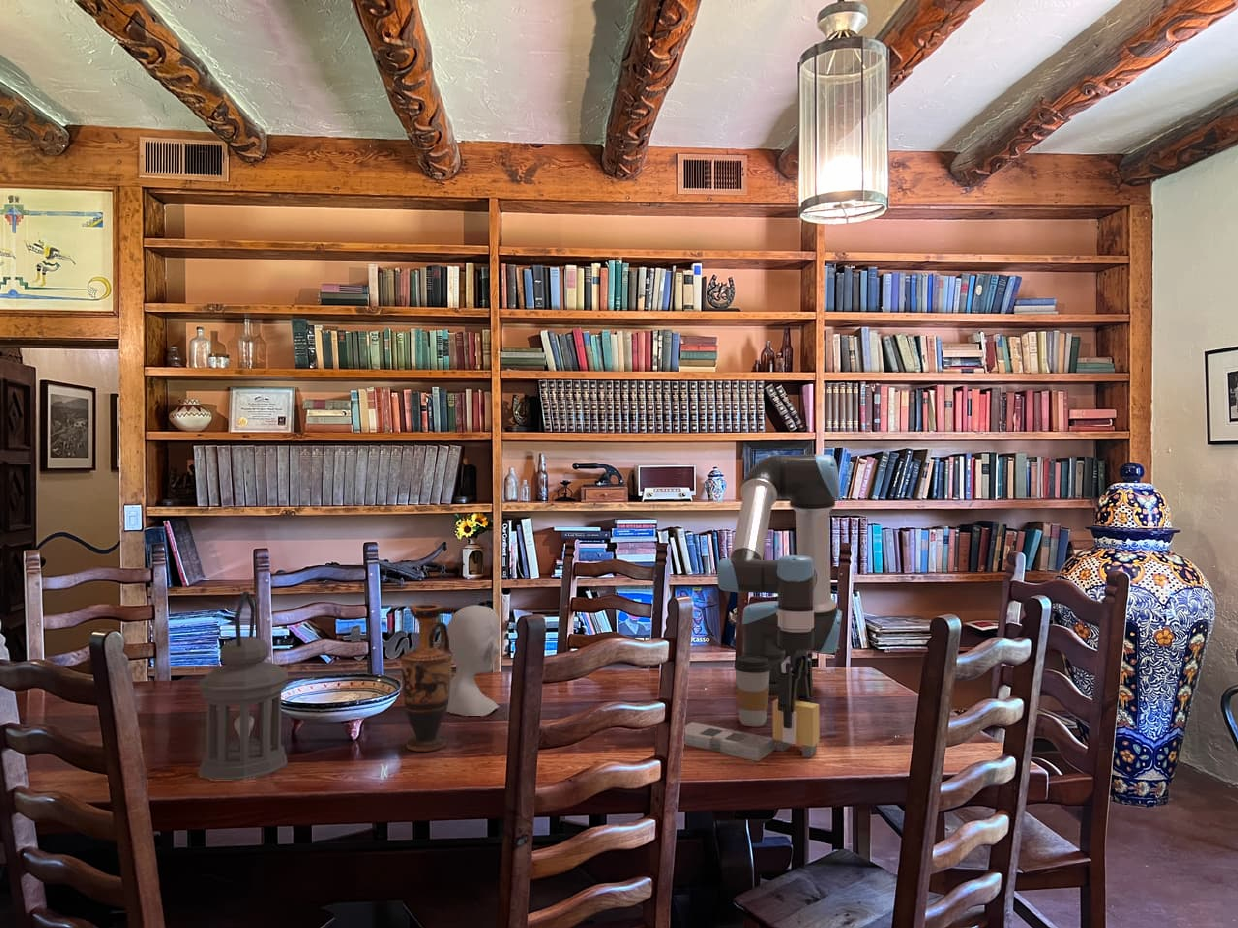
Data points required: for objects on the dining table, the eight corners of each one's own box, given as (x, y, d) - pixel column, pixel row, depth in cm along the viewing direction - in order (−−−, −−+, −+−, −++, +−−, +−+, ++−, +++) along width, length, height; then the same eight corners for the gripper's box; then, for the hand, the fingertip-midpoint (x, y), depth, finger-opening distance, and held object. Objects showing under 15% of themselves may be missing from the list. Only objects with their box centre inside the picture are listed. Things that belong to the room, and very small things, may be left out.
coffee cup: (770, 729, 184) (770, 663, 184) (733, 726, 186) (733, 662, 186) (770, 718, 192) (770, 655, 193) (735, 716, 194) (735, 654, 194)
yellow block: (772, 749, 170) (772, 701, 171) (779, 744, 173) (779, 697, 174) (813, 757, 165) (813, 708, 166) (819, 752, 168) (819, 704, 169)
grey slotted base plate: (674, 742, 175) (674, 731, 175) (692, 733, 181) (691, 721, 181) (758, 760, 163) (758, 748, 163) (774, 749, 170) (774, 738, 170)
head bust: (529, 701, 207) (529, 604, 208) (478, 720, 191) (478, 615, 191) (467, 689, 219) (467, 597, 219) (414, 706, 203) (414, 607, 203)
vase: (406, 757, 165) (407, 612, 166) (395, 742, 175) (396, 604, 175) (458, 749, 170) (458, 608, 171) (444, 735, 180) (445, 601, 180)
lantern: (284, 776, 155) (285, 595, 155) (187, 786, 150) (189, 599, 151) (293, 748, 171) (294, 584, 171) (206, 756, 166) (208, 587, 167)
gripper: (796, 620, 180) (796, 723, 180) (760, 634, 164) (760, 747, 164) (828, 623, 176) (829, 729, 175) (794, 638, 160) (795, 754, 159)
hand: (795, 737), depth 169 cm, fingers open, 6 cm apart
